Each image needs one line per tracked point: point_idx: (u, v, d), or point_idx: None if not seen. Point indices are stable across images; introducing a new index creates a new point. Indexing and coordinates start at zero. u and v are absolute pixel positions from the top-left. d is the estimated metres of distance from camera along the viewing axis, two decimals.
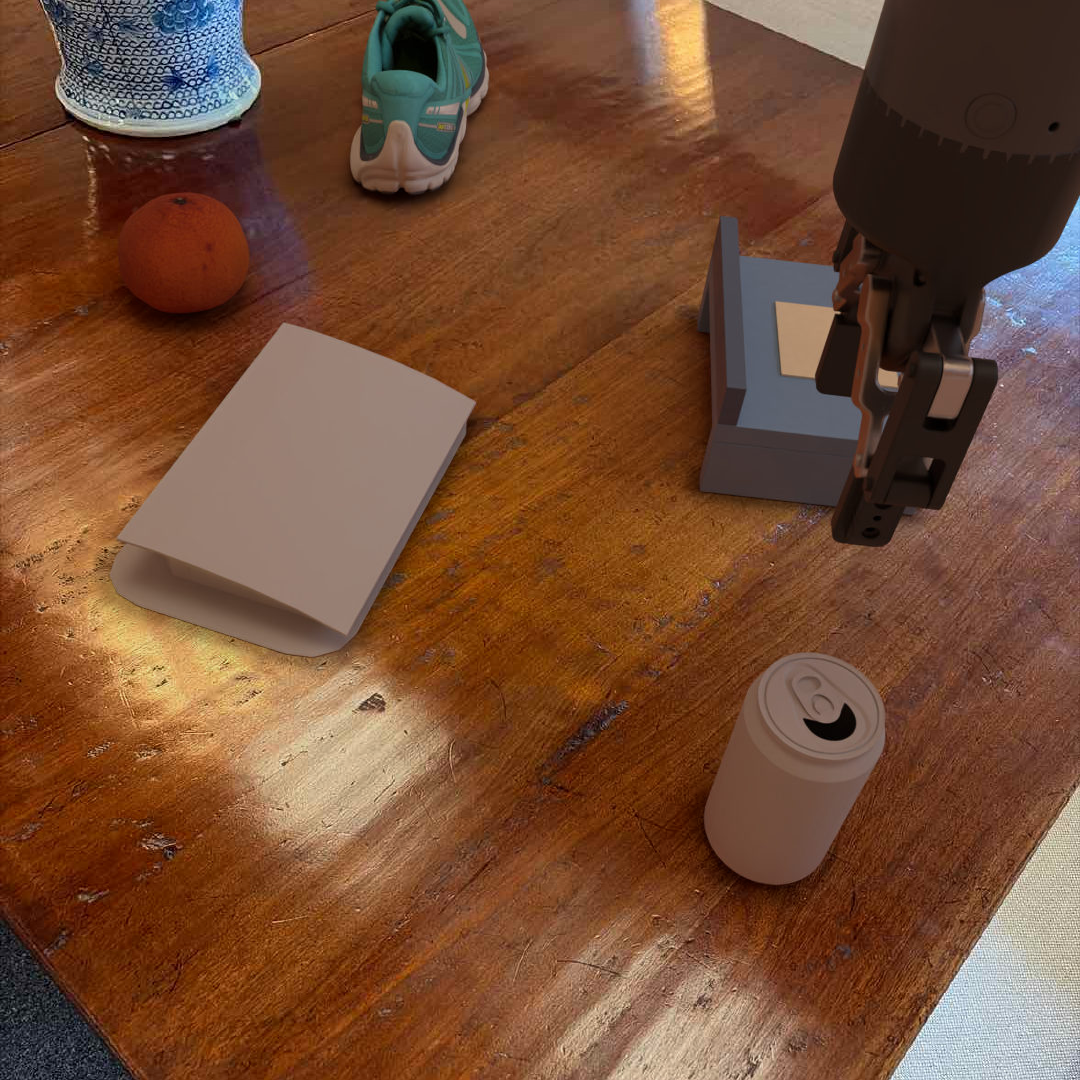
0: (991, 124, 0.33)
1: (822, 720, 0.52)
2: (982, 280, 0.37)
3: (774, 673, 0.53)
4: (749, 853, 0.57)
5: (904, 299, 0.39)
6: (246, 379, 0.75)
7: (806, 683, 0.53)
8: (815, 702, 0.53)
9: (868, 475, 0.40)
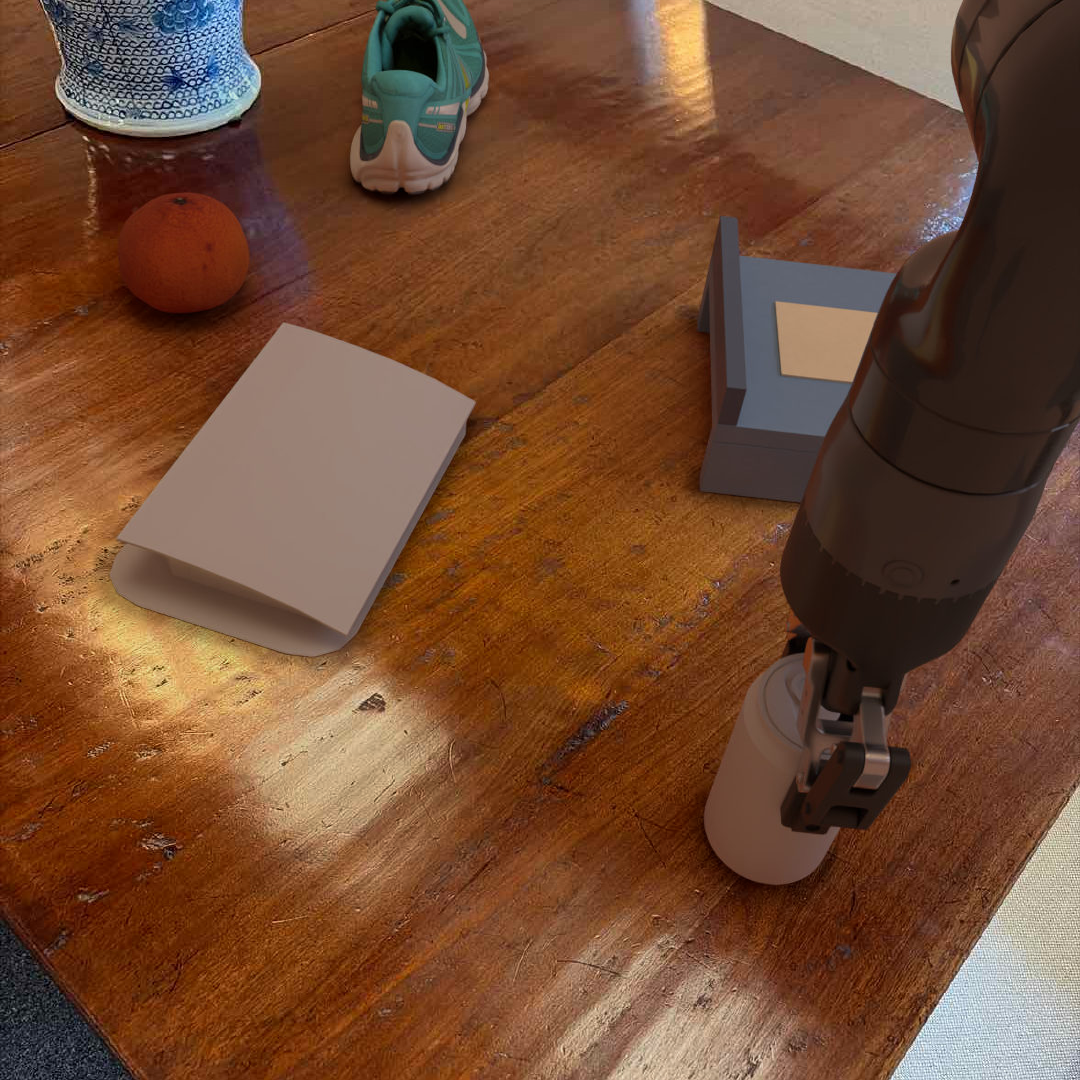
0: (903, 580, 0.40)
1: None
2: (903, 671, 0.44)
3: (774, 674, 0.53)
4: (748, 853, 0.57)
5: (840, 672, 0.46)
6: (246, 379, 0.75)
7: None
8: None
9: (807, 798, 0.48)
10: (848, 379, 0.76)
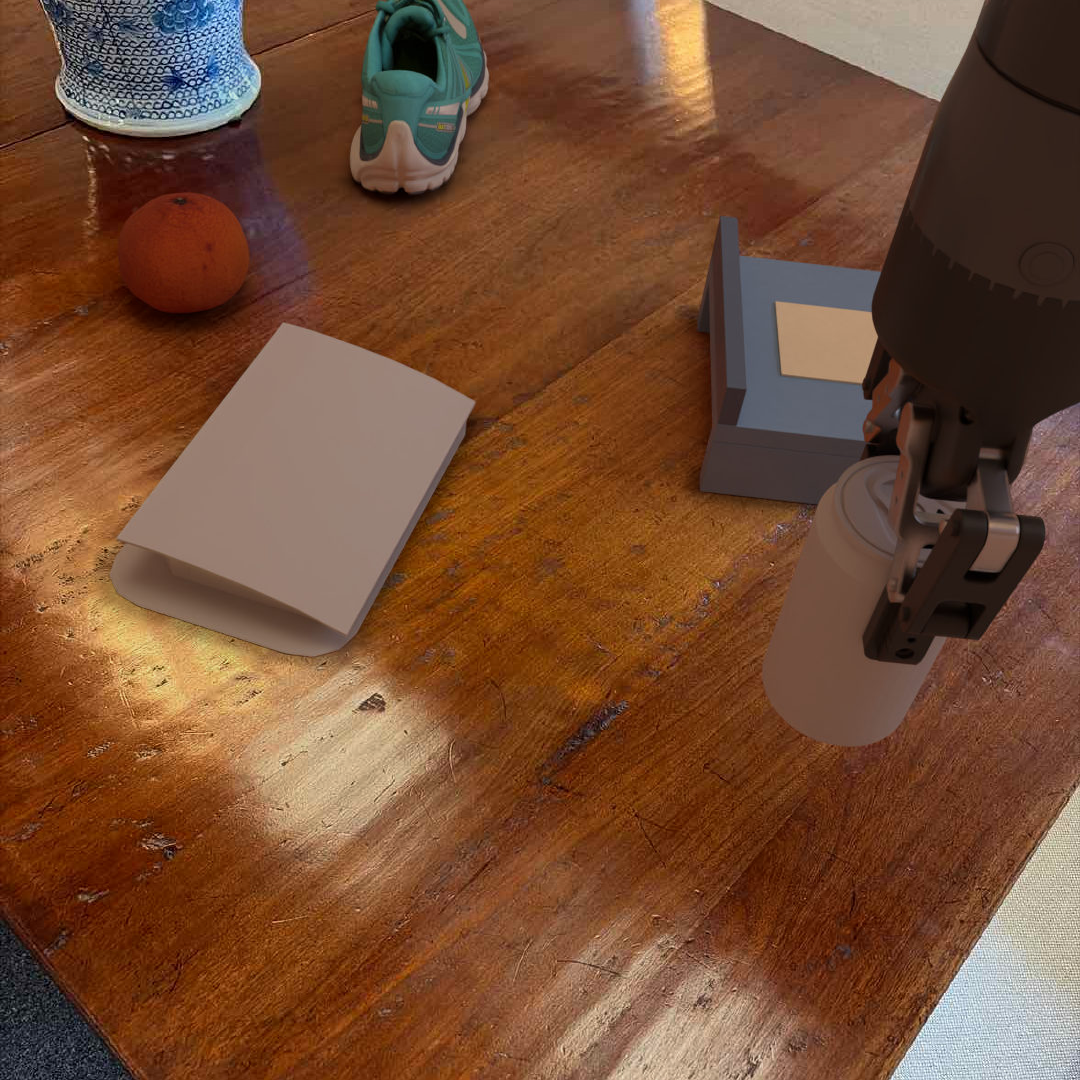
0: (1047, 272, 0.31)
1: None
2: (1033, 420, 0.35)
3: (851, 478, 0.45)
4: (819, 706, 0.48)
5: (949, 434, 0.37)
6: (246, 379, 0.75)
7: (891, 488, 0.44)
8: None
9: (904, 603, 0.39)
10: (848, 379, 0.76)
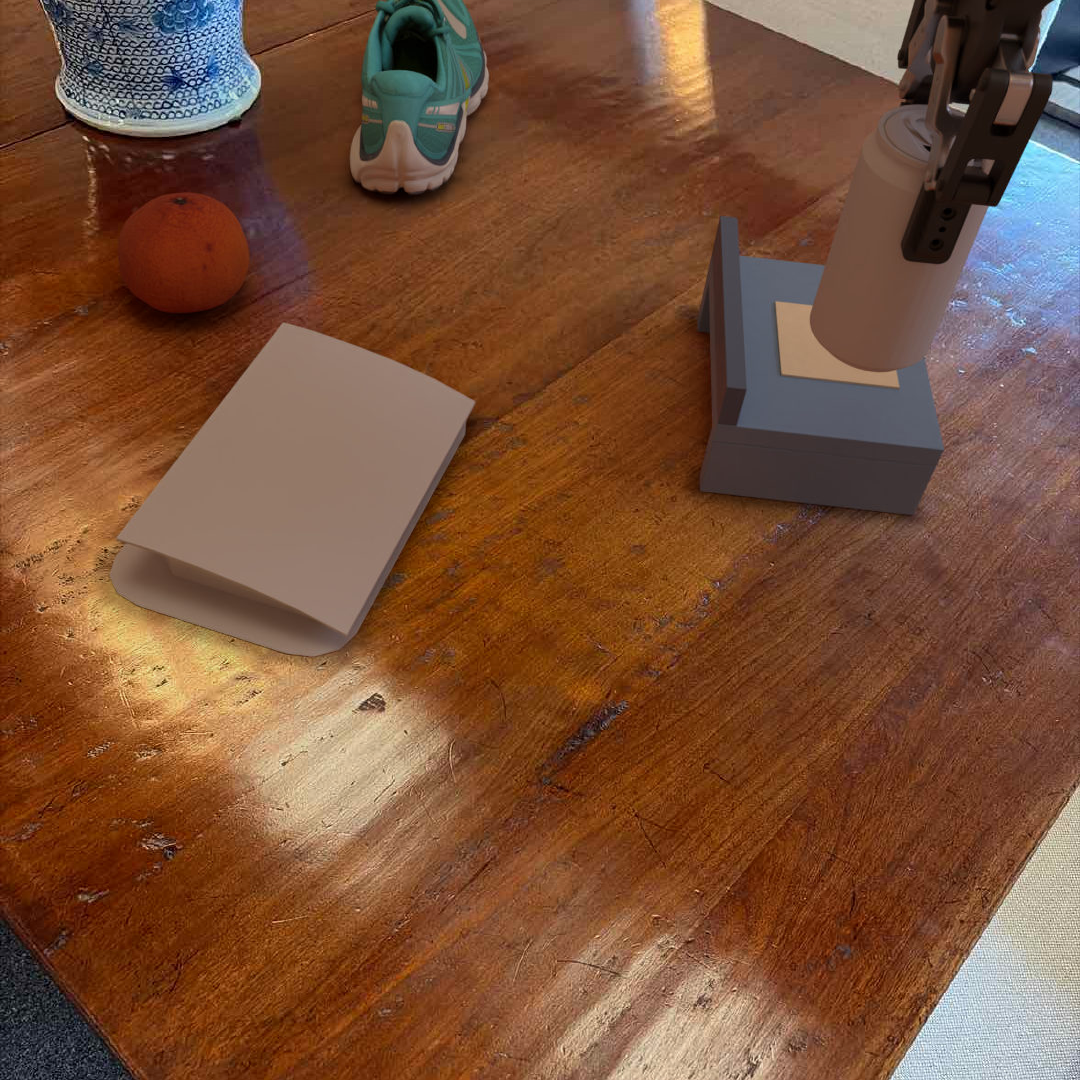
0: None
1: None
2: (1043, 1, 0.46)
3: (891, 117, 0.55)
4: (860, 327, 0.59)
5: (977, 26, 0.48)
6: (245, 379, 0.75)
7: (923, 124, 0.55)
8: None
9: (940, 178, 0.50)
10: (848, 379, 0.76)
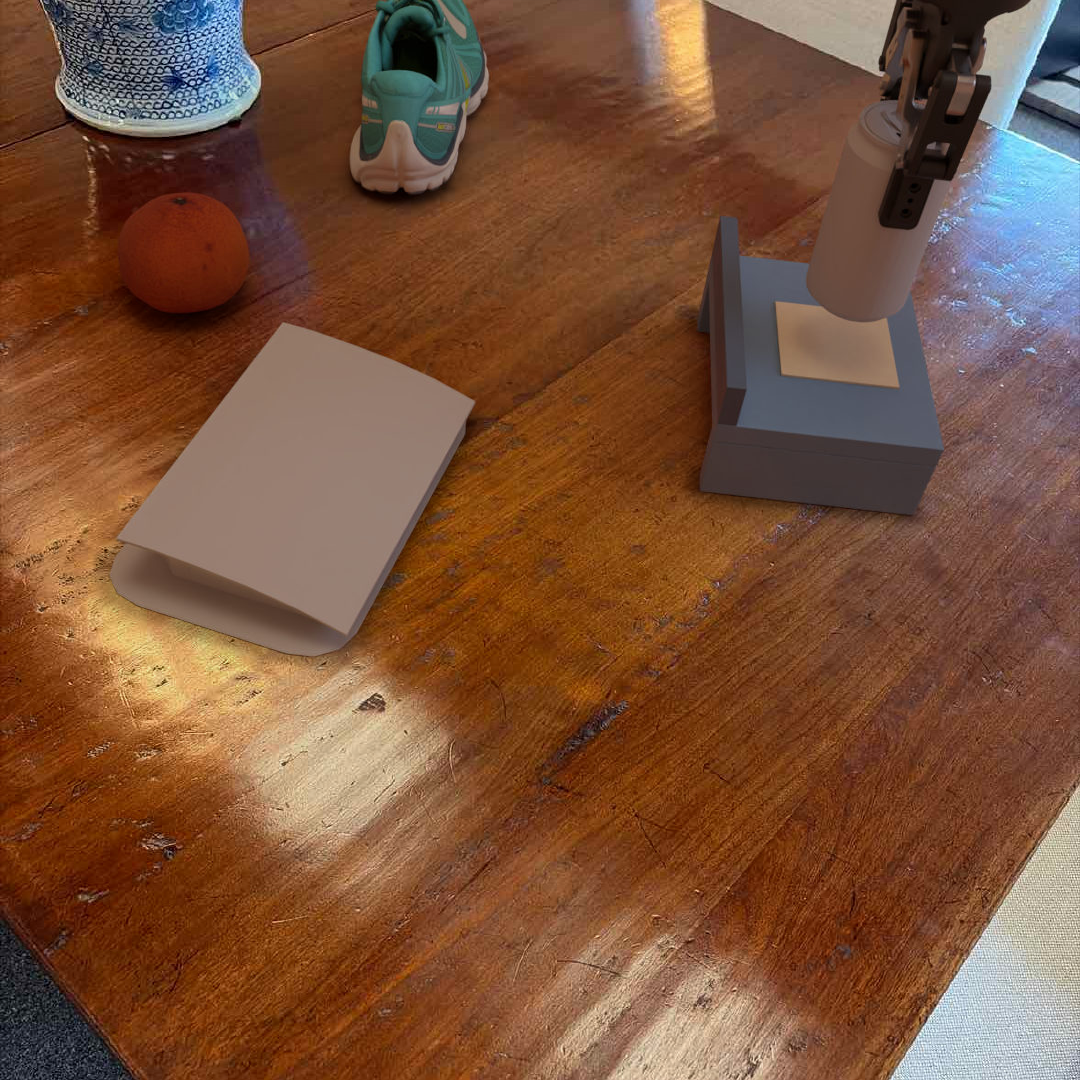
0: None
1: None
2: (985, 18, 0.59)
3: (871, 110, 0.68)
4: (846, 283, 0.72)
5: (935, 37, 0.60)
6: (245, 379, 0.75)
7: None
8: None
9: (906, 158, 0.63)
10: (848, 379, 0.76)
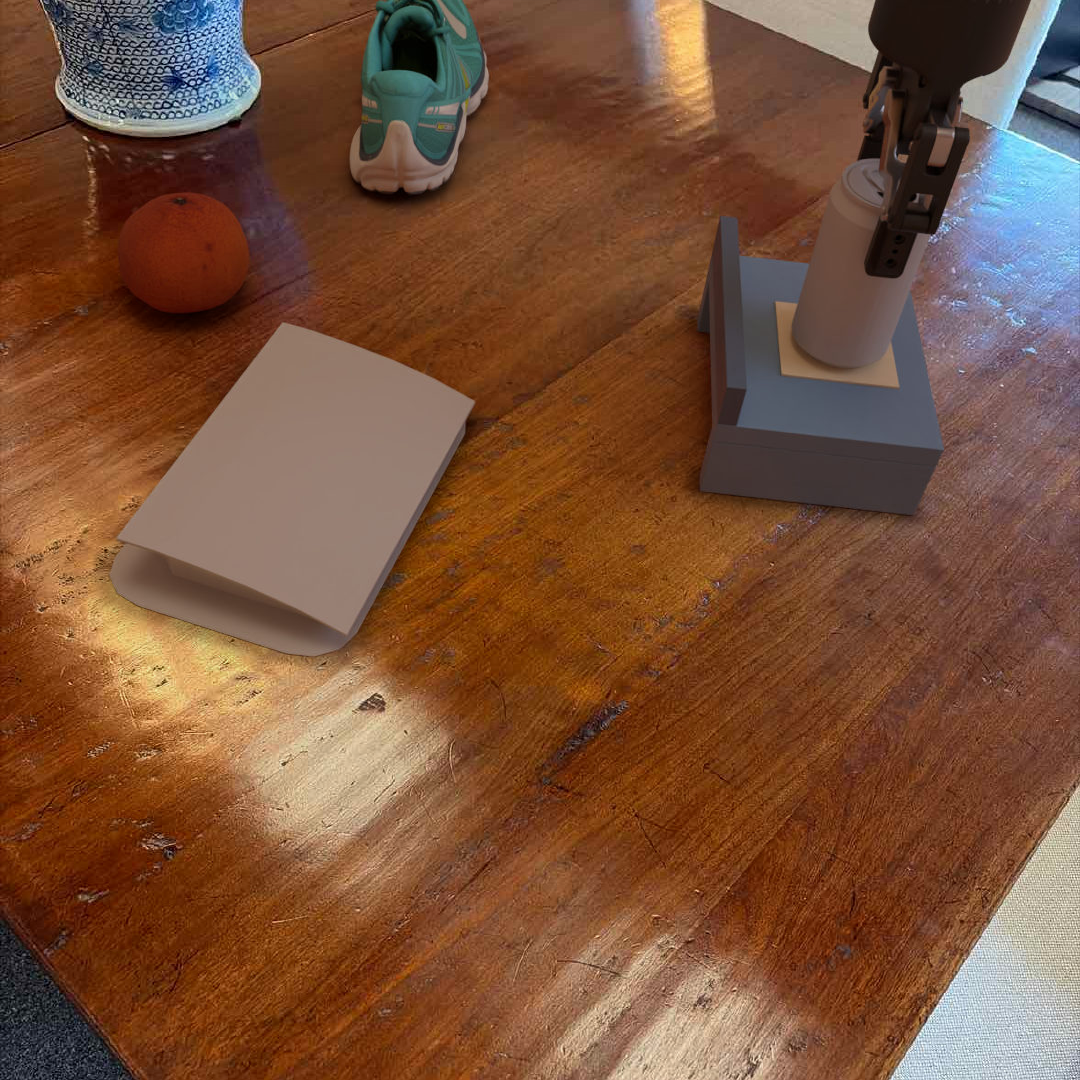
0: None
1: None
2: (960, 82, 0.61)
3: (853, 169, 0.71)
4: (830, 332, 0.74)
5: (913, 98, 0.63)
6: (245, 379, 0.75)
7: (878, 174, 0.71)
8: None
9: None
10: (848, 379, 0.76)
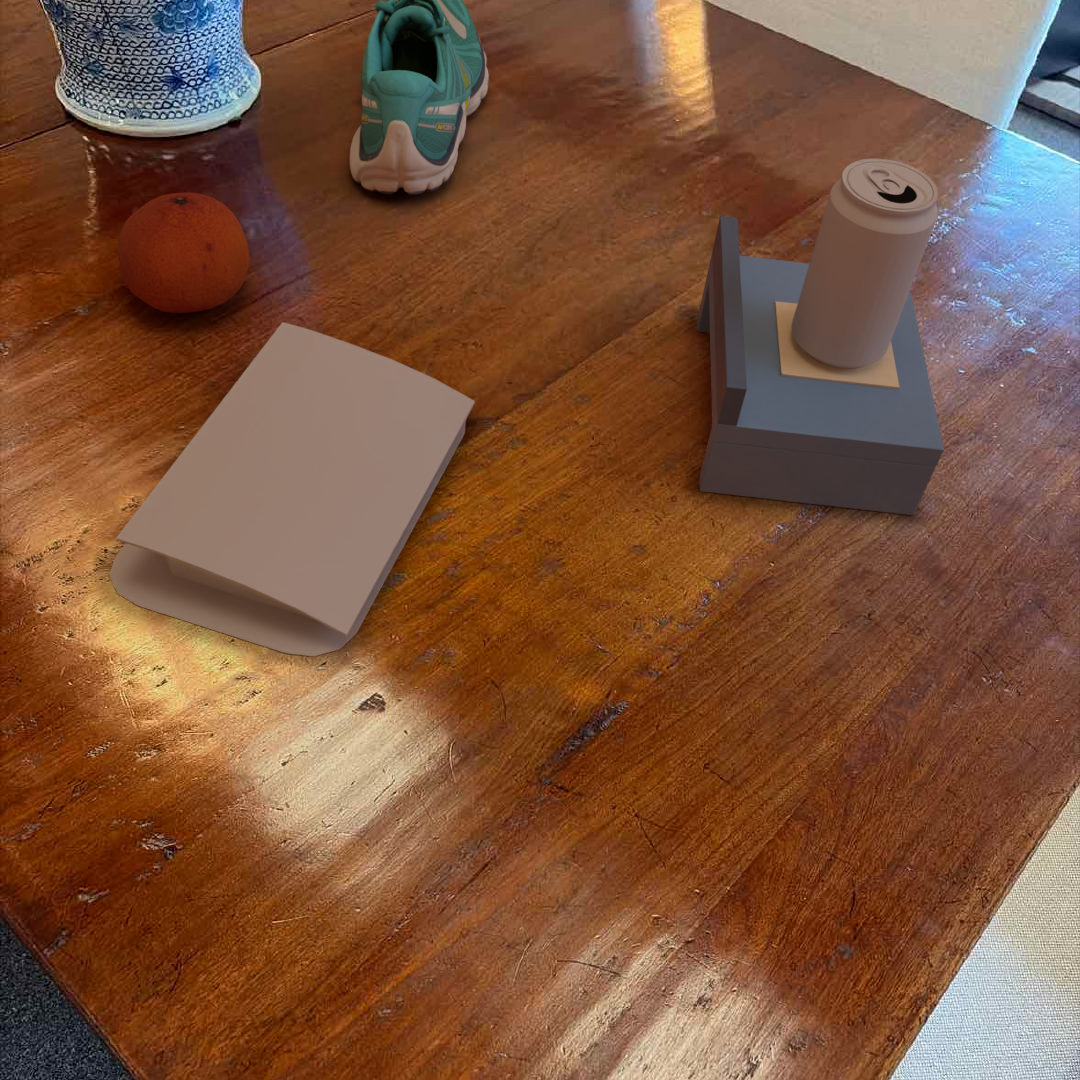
0: None
1: (891, 193, 0.69)
2: None
3: (853, 169, 0.71)
4: (830, 332, 0.74)
5: None
6: (245, 379, 0.75)
7: (878, 174, 0.71)
8: (886, 183, 0.70)
9: None
10: (848, 379, 0.76)
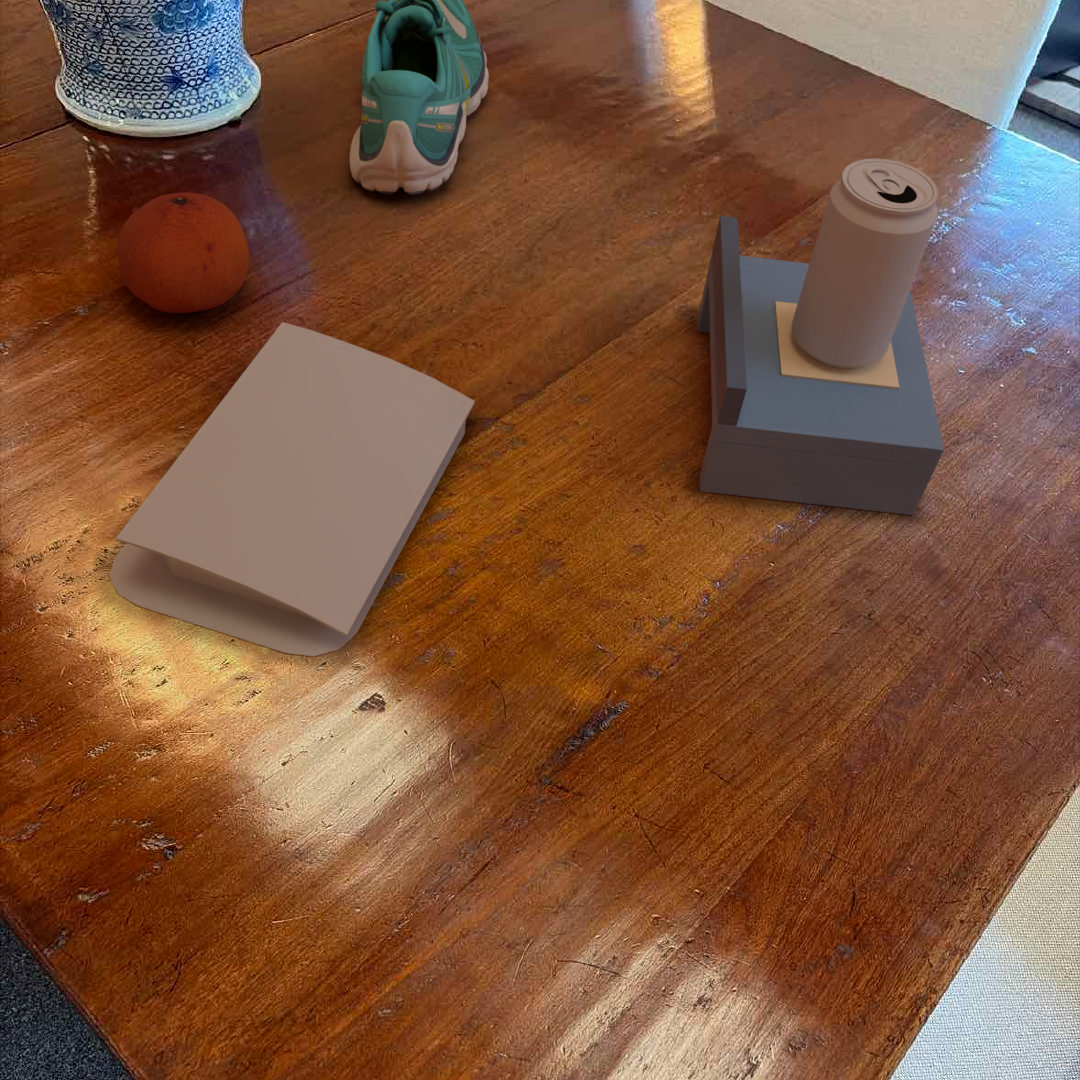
0: None
1: (891, 193, 0.69)
2: None
3: (853, 169, 0.71)
4: (830, 332, 0.74)
5: None
6: (245, 379, 0.75)
7: (878, 174, 0.71)
8: (885, 183, 0.70)
9: None
10: (848, 379, 0.76)
